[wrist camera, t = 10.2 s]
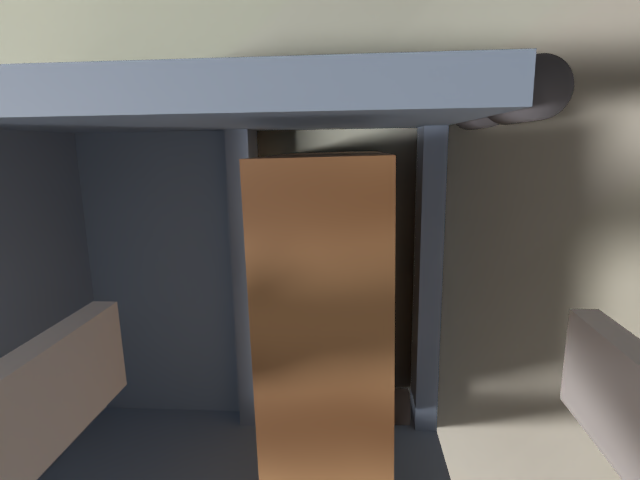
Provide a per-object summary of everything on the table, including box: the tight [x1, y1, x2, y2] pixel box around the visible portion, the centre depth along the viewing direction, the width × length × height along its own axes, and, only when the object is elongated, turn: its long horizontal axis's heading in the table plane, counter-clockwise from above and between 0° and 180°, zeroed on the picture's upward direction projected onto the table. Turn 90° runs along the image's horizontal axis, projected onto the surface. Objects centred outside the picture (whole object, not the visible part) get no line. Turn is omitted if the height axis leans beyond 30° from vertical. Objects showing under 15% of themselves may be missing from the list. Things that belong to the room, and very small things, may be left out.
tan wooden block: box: [239, 151, 411, 480], centre depth 18 cm, size 12×5×10 cm, turn 2°
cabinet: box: [0, 48, 574, 480], centre depth 17 cm, size 17×20×11 cm
